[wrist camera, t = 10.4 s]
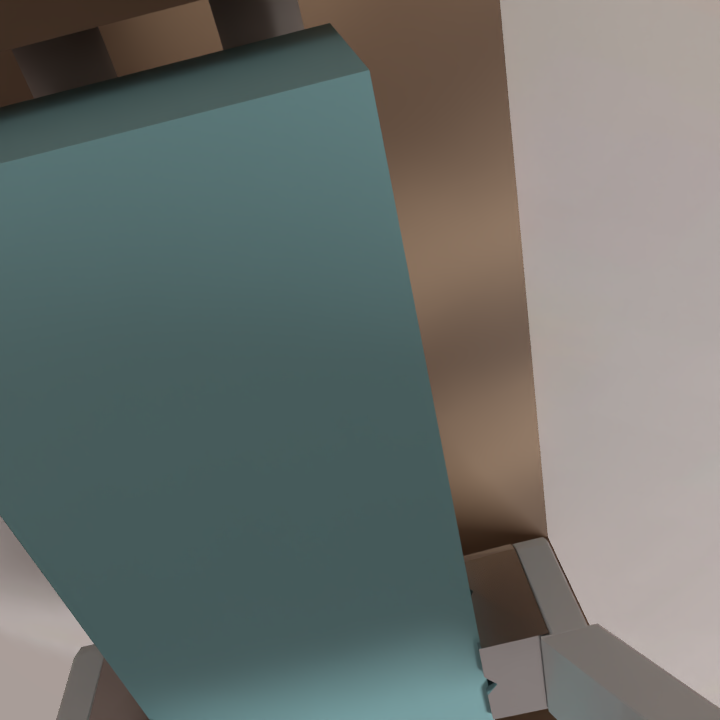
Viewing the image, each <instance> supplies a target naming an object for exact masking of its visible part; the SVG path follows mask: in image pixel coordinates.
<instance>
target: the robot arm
mask: <svg viewBox="0 0 720 720" xmlns="http://www.w3.org/2000/svg"><path fill="white" fill-rule="evenodd" d="M463 557H464V562H465V567H466V573H467V578H468V583H469V588H470V593H471V599H472V604H473V609H474V614H475V619H476V624H477V630H478V635H479V640H480V642H478V643H477V645H478V651H479V656H480V661H481V667H482V671H483V675H484V677H485V678H487V681H488V687H487V688H486V692H487V696H488V701H489V705H490V710H491V714H492V718H493V720H494V719H499V718H504V717H509V716H514V715H519V714H523V713H528V712H533V711H538V710H543V709H548V710H549V712H550V713H551V714H552V715H553V716H554V717H555V718H556V719H557V720H720V708H719V707H717V706H716V705H714V704H713V703H711V702H710V701H708V700H707V699H706V698H704V697H703V696H701V695H700V694H698V693H697V692H695V691H694V690H693V689H691V688H690V687H688V686H687V685H685V684H684V683H683V682H681V681H680V680H678V679H677V678H675V677H674V676H672V675H671V674H670V673H668V672H667V671H665V670H664V669H662V668H661V667H659V666H658V665H657V664H655V663H654V662H652V661H651V660H649V659H648V658H646V657H645V656H644V655H642V654H641V653H639V652H638V651H636V650H635V649H634V648H632V647H631V646H629V645H628V644H626V643H625V642H623V641H622V640H621V639H619V638H618V637H616V636H615V635H613V634H612V633H610V632H609V631H608V630H606V629H605V628H603V627H602V626H600V625H599V624H593V625H587V623H586V621H585V618H584V616H583V614H582V612H581V610H580V608H579V606H578V604H577V601H576V599H575V597H574V595H573V593H572V591H571V589H570V587H569V585H568V582H567V580H566V578H565V576H564V574H563V572H562V570H561V568H560V566H559V563H558V561H557V559H556V557H555V555H554V553H553V551H552V549H551V547H550V544H549V542H548V541H547V540H546V539H545V538H544V537H540V538H536V539H532V540H528V541H523V542H519V543H515V544H513V545H511V544H508V545H504V546H500V547H496V548H492V549H488V550H485V551H481V552H477V553H473V554H469V555H465V556H463ZM56 720H149V718H148V717H147V715H146V714H145V713H144V711H143V710H142V709H141V707H140V706H139V705H138V703H137V702H136V700H135V699H134V698H133V696H132V695H131V694H130V692H129V691H128V689H127V688H126V687H125V685H124V684H123V683H122V681H121V680H120V679H119V677H118V676H117V674H116V673H115V672H114V670H113V669H112V668H111V666H110V665H109V663H108V662H107V661H106V659H105V658H104V657H103V655H102V654H101V653H100V651H99V650H98V648H97V647H96V646H95V644H93V645H89V646H85V647H81V649H80V650H79V652H78V653H77V654H76V656H75V658H74V660H73V663H72V667H71V671H70V674H69V677H68V681H67V684H66V688H65V692H64V695H63V698H62V702H61V705H60V709H59V712H58V715H57V719H56Z"/></svg>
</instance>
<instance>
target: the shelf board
mask: <svg viewBox="0 0 720 720" xmlns="http://www.w3.org/2000/svg"><path fill="white" fill-rule="evenodd" d="M0 516H1V517H2V518H3V520H4V521H5V523H6V524H7V525H8V527H9V528H10V529H11V531H12V532H13V533H14V535H15V536H16V538H17V539H18V540H19V542H20V543H21V544H22V546H23V547H24V549H25V550H26V551H27V553H28V554H29V555H30V557H31V558H32V559H33V561H34V562H35V564H36V565H37V566H38V568H39V569H40V570H41V572H42V573H43V575H44V576H45V577H46V579H47V580H48V581H49V583H50V584H51V585H52V587H53V588H54V590H55V591H56V592H57V594H58V595H59V596H60V598H61V599H62V601H63V602H64V603H65V605H66V606H67V607H68V609H69V610H70V611H71V613H72V614H73V616H74V617H75V618H76V620H77V621H78V622H79V624H80V625H81V627H82V628H83V629H84V631H85V632H86V633H87V635H88V636H89V637H90V639H91V640H92V642H93V643H94V644H95V646H96V647H97V648H98V650H99V651H100V653H101V654H102V655H103V657H104V658H105V659H106V661H107V662H108V663H109V665H110V666H111V668H112V669H113V670H114V672H115V673H116V674H117V676H118V677H119V679H120V680H121V681H122V683H123V684H124V685H125V687H126V688H127V689H128V691H129V692H130V694H131V695H132V696H133V698H134V699H135V700H136V702H137V703H138V705H139V706H140V707H141V709H142V710H143V711H144V713H145V714H146V715H147V717H148V718H149V720H493V718H492V714H491V710H490V705H489V701H488V696H487V692H486V688H487V687H488V681H487V678H485V677H484V675H483V671H482V667H481V661H480V656H479V651H478V645H477V643H478V642H480V640H479V635H478V630H477V624H476V619H475V614H474V609H473V604H472V599H471V593H470V588H469V583H468V578H467V573H466V567H465V562H464V557H463V552H462V547H461V542H460V536H459V531H458V526H457V521H456V516H455V511H454V505H453V500H452V495H451V490H450V485H449V479H448V474H447V469H446V464H445V459H444V454H443V448H442V443H441V438H440V433H439V428H438V423H437V417H436V412H435V407H434V402H433V397H432V391H431V386H430V381H429V376H428V371H427V366H426V360H425V355H424V350H423V345H422V340H421V335H420V329H419V324H418V319H417V314H416V309H415V303H414V298H413V293H412V288H411V283H410V278H409V272H408V267H407V262H406V257H405V252H404V247H403V241H402V236H401V231H400V226H399V221H398V215H397V210H396V205H395V200H394V195H393V190H392V184H391V179H390V174H389V169H388V164H387V159H386V153H385V148H384V143H383V138H382V133H381V128H380V122H379V117H378V112H377V107H376V102H375V96H374V91H373V86H372V81H371V76H370V71H369V69H368V68H367V66H366V65H365V64H364V63H363V62H362V61H361V59H360V58H359V57H358V56H357V55H356V53H355V52H354V51H353V50H352V49H351V47H350V46H349V45H348V44H347V43H346V42H345V40H344V39H343V38H342V37H341V36H340V34H339V33H338V32H337V31H336V30H335V28H334V27H333V26H332V25H331V24H330V23H328V24H324V25H320V26H316V27H312V28H308V29H304V30H300V31H296V32H292V33H289V34H285V35H281V36H277V37H273V38H269V39H265V40H261V41H257V42H253V43H249V44H246V45H242V46H238V47H234V48H230V49H226V50H222V51H218V52H214V53H210V54H206V55H203V56H199V57H195V58H191V59H187V60H183V61H179V62H175V63H171V64H167V65H164V66H160V67H156V68H152V69H148V70H144V71H140V72H136V73H132V74H128V75H124V76H121V77H117V78H113V79H109V80H105V81H101V82H97V83H93V84H89V85H85V86H81V87H78V88H74V89H70V90H66V91H62V92H58V93H54V94H50V95H46V96H42V97H39V98H35V99H31V100H27V101H23V102H19V103H15V104H11V105H7V106H3V107H0ZM494 720H495V719H494Z"/></svg>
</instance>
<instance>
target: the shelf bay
mask: <svg viewBox="0 0 720 720" xmlns="http://www.w3.org/2000/svg"><path fill="white" fill-rule="evenodd" d="M328 23H330V24H331V25H332V26H333V27H334V28H335V30H336V31H337V32H338V33H339V34H340V36H341V37H342V38H343V39H344V40H345V42H346V43H347V44H348V45H349V46H350V47H351V49H352V50H353V51H354V52H355V53H356V55H357V56H358V57H359V58H360V59H361V61H362V62H363V63H364V64H365V65H366V66H367V68H368V69H369V71H370V76H371V81H372V86H373V91H374V96H375V102H376V107H377V112H378V117H379V122H380V128H381V133H382V138H383V143H384V148H385V153H386V159H387V164H388V169H389V174H390V179H391V184H392V190H393V195H394V200H395V205H396V210H397V215H398V221H399V226H400V231H401V236H402V241H403V247H404V252H405V257H406V262H407V267H408V272H409V278H410V283H411V288H412V293H413V298H414V303H415V309H416V314H417V319H418V324H419V329H420V335H421V340H422V345H423V350H424V355H425V360H426V366H427V371H428V376H429V381H430V386H431V391H432V397H433V402H434V407H435V412H436V417H437V423H438V428H439V433H440V438H441V443H442V448H443V454H444V459H445V464H446V469H447V474H448V479H449V485H450V490H451V495H452V500H453V505H454V511H455V516H456V521H457V526H458V531H459V536H460V542H461V547H462V552H463V556H465V555H469V554H473V553H477V552H481V551H485V550H488V549H492V548H496V547H500V546H504V545H508V544H511V545H513V544H515V543H519V542H523V541H528V540H532V539H536V538H540V537H544V538H545V539H546V540H547V541H548V542H549V544H550V547H551V549H552V551H553V553H554V555H555V557H556V559H557V561H558V563H559V566H560V568H561V570H562V572H563V574H564V576H565V578H566V580H567V582H568V585H569V587H570V589H571V591H572V593H573V595H574V597H575V599H576V601H577V604H578V606H579V608H580V610H581V612H582V614H583V616H584V618H585V621H586V623H587V625H589V623H588V621H587V619H586V617H585V615H584V613H583V611H582V609H581V606H580V604H579V602H578V600H577V598H576V596H575V594H574V592H573V590H572V587H571V585H570V583H569V581H568V579H567V577H566V575H565V573H564V570H563V568H562V566H561V564H560V562H559V560H558V558H557V556H556V554H555V551H554V549H553V547H552V545H551V543H550V541H549V539H548V534H547V523H546V512H545V501H544V490H543V479H542V468H541V456H540V445H539V434H538V423H537V412H536V401H535V389H534V378H533V367H532V356H531V345H530V334H529V323H528V311H527V300H526V289H525V278H524V267H523V256H522V244H521V233H520V222H519V211H518V200H517V189H516V178H515V166H514V155H513V144H512V133H511V122H510V111H509V99H508V88H507V77H506V66H505V55H504V44H503V33H502V21H501V10H500V0H0V107H3V106H7V105H11V104H15V103H19V102H23V101H27V100H31V99H35V98H39V97H42V96H46V95H50V94H54V93H58V92H62V91H66V90H70V89H74V88H78V87H81V86H85V85H89V84H93V83H97V82H101V81H105V80H109V79H113V78H117V77H121V76H124V75H128V74H132V73H136V72H140V71H144V70H148V69H152V68H156V67H160V66H164V65H167V64H171V63H175V62H179V61H183V60H187V59H191V58H195V57H199V56H203V55H206V54H210V53H214V52H218V51H222V50H226V49H230V48H234V47H238V46H242V45H246V44H249V43H253V42H257V41H261V40H265V39H269V38H273V37H277V36H281V35H285V34H289V33H292V32H296V31H300V30H304V29H308V28H312V27H316V26H320V25H324V24H328ZM495 720H557V719H556V718H555V717H554V716H553V715H552V714H551V713H550V712H549V710H548V709H543V710H538V711H533V712H528V713H523V714H519V715H514V716H509V717H504V718H499V719H495Z"/></svg>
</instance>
